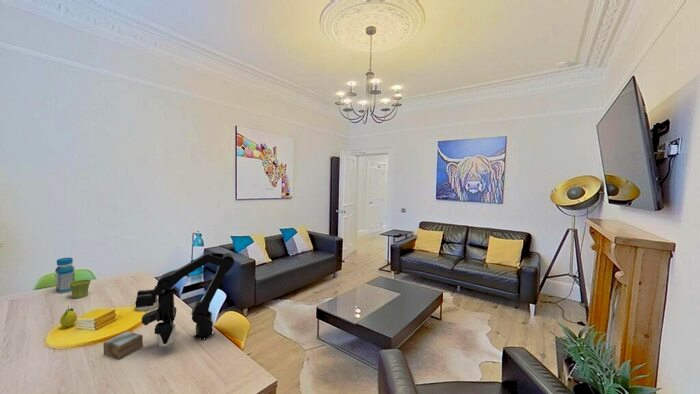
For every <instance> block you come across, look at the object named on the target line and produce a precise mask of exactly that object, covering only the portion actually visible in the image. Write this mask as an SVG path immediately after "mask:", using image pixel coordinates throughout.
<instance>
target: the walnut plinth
mask: <svg viewBox="0 0 700 394" xmlns="http://www.w3.org/2000/svg"><path fill="white" fill-rule="evenodd" d="M143 337H144V336H143V334H139V333H135V332H132V331H128V330H127V331H125V332H123V333H120V334H118V335H116V336H114V337H112V338H110V339H108V340H106V341H104V342H103V355H104V356H107V357H111V358H114V359H116V360H122V359H123V358H125V357H127V356H129V355H131V354H132V353H133V352H136V351H137V350H139V349H141V348H142V347H144V346H143V345H144V344H143V343H144V341H143Z"/></svg>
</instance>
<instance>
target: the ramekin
mask: <svg viewBox="0 0 700 394" xmlns="http://www.w3.org/2000/svg"><path fill="white" fill-rule="evenodd" d="M134 304H135V305H136V299H134ZM155 308H158V296H157V302H156V303H154V305H153V306H147V307H140V308H136V310H138V311H140V312H145V311H152V310H154V309H155Z"/></svg>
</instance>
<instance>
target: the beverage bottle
mask: <svg viewBox="0 0 700 394" xmlns="http://www.w3.org/2000/svg"><path fill="white" fill-rule="evenodd" d="M73 262H74V261H73V257H63V258H62V257H61V258H58V259H56V265H57V267H56V268H55V270H54V272H55V274H54V278H55V292H56V294H65V293H69V292H72V291H71V288H70V286H69V285H68V284H69V283H71V282H73V281H76V280H75V275H76V272H75V266H74V264H73Z"/></svg>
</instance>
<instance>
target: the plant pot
mask: <svg viewBox="0 0 700 394" xmlns="http://www.w3.org/2000/svg"><path fill="white" fill-rule="evenodd" d="M91 282H92V280H91V279H88V278H86V279H78V280H75V281H73V282H71V283H69V284H68V285H69V286H70V288H71V291H70V292H71V295H72V299H81V298H85V297H87V296H88V293H89V287H90V284H91Z"/></svg>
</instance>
